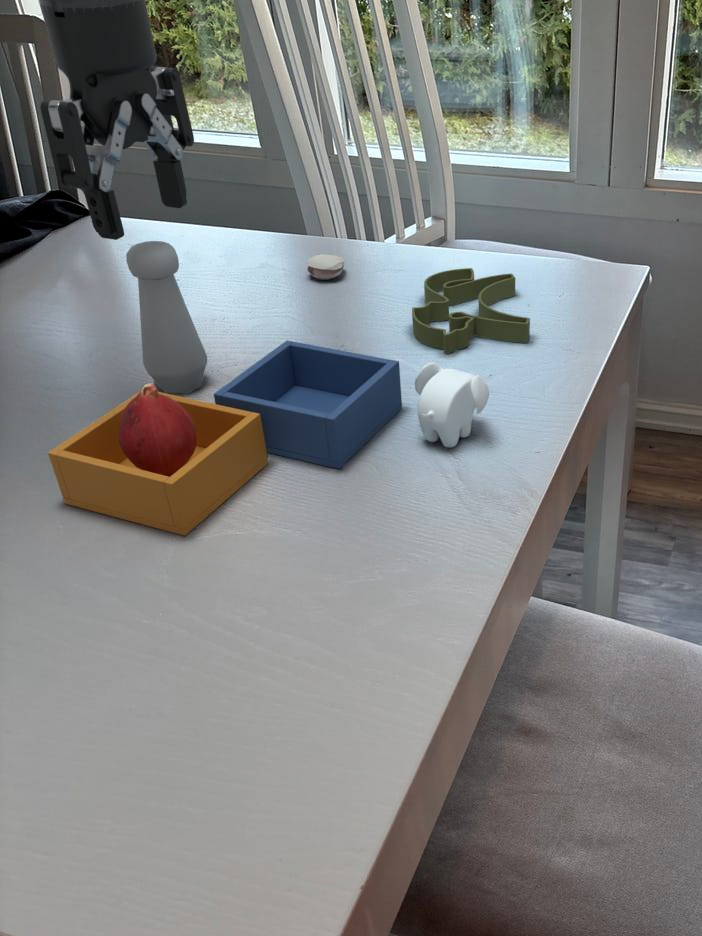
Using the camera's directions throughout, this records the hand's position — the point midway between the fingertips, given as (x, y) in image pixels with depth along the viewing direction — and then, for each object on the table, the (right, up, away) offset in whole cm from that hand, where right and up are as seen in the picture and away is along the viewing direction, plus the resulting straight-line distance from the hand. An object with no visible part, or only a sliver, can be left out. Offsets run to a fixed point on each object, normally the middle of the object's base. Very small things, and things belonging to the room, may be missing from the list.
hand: (144, 221), depth 82 cm
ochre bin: (+3, -23, -4) cm, 23 cm away
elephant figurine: (+26, -18, +2) cm, 32 cm away
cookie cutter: (+27, -1, +21) cm, 35 cm away
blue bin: (+14, -17, +4) cm, 22 cm away
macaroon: (+11, +7, +31) cm, 34 cm away
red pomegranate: (+3, -23, -4) cm, 23 cm away
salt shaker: (0, -11, +10) cm, 15 cm away
